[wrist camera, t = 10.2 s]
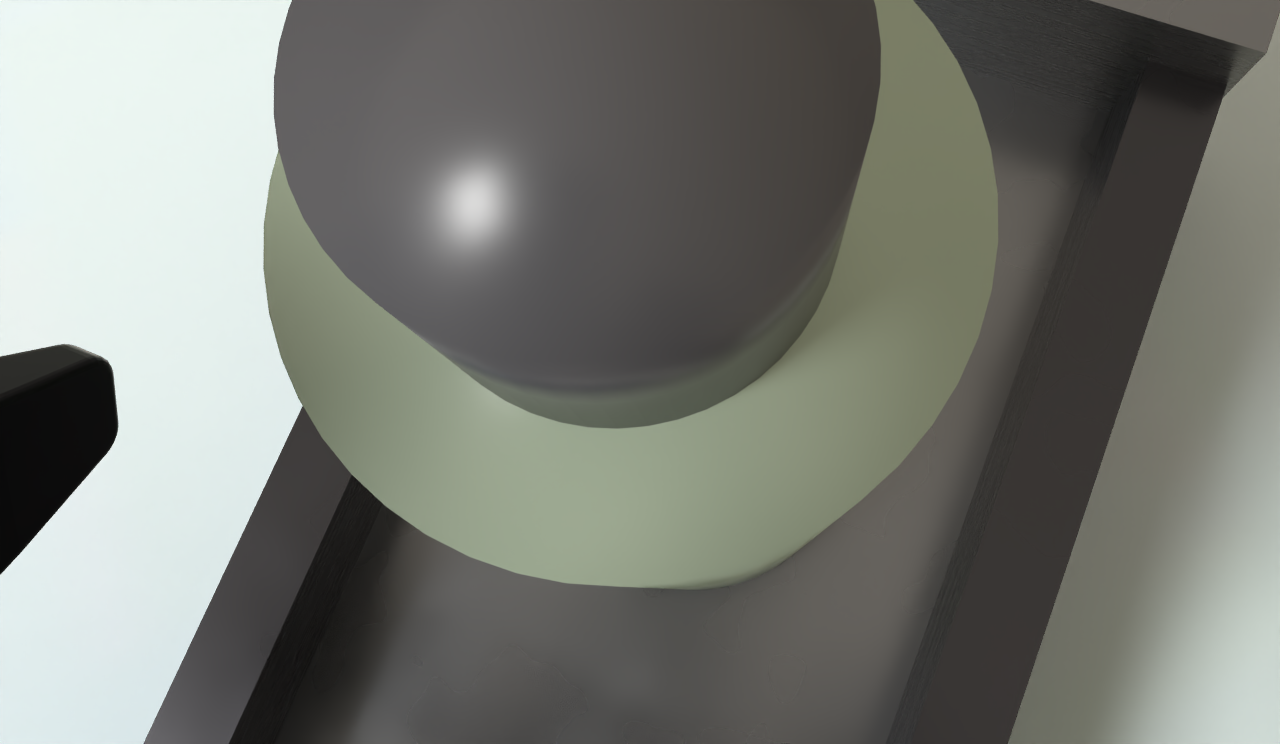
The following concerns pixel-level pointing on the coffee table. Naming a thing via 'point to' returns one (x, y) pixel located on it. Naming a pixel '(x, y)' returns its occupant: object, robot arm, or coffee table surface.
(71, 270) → the coffee table surface
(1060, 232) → the grey tray with cylinder
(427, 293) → the pale green bottle
